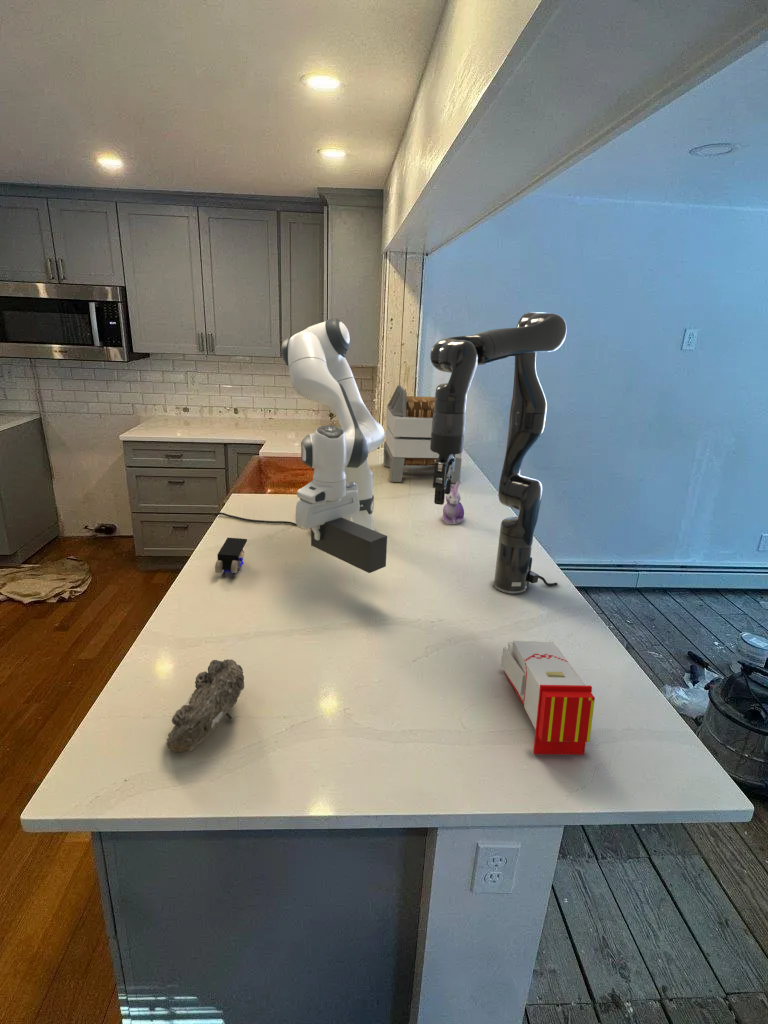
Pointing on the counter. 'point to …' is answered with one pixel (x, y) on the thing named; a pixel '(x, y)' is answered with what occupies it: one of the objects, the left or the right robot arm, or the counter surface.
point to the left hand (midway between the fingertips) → (328, 535)
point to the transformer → (411, 435)
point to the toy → (550, 696)
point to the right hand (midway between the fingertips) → (442, 498)
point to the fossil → (206, 705)
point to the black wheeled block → (230, 556)
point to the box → (352, 544)
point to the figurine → (453, 507)
